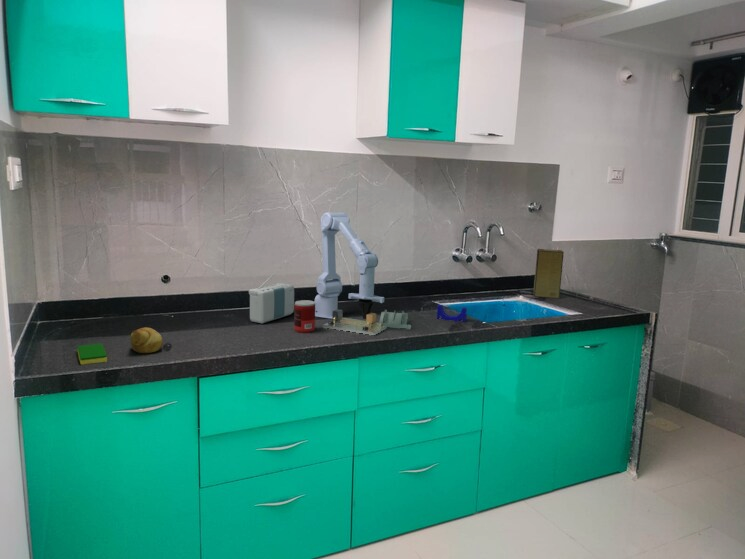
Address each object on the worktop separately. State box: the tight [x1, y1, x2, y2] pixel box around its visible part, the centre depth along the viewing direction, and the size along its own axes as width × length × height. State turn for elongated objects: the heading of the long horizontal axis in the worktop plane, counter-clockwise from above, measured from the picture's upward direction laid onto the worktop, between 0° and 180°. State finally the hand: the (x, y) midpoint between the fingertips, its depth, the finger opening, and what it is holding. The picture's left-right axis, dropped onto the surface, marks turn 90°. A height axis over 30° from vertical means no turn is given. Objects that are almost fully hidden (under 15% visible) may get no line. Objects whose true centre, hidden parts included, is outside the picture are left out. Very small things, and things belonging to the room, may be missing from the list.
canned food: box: [293, 299, 316, 334], centre depth 211 cm, size 8×8×11 cm
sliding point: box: [365, 312, 377, 327], centre depth 216 cm, size 2×5×4 cm, turn 156°
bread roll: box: [130, 326, 164, 354], centre depth 181 cm, size 13×10×8 cm
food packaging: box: [532, 248, 564, 300], centre depth 297 cm, size 13×9×25 cm
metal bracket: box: [378, 309, 412, 330], centre depth 226 cm, size 14×6×15 cm
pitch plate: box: [322, 308, 388, 336], centre depth 217 cm, size 22×12×6 cm, turn 66°
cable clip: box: [436, 304, 468, 323], centre depth 238 cm, size 12×4×6 cm, turn 71°
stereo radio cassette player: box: [248, 267, 295, 325], centre depth 226 cm, size 21×8×20 cm, turn 152°
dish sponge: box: [76, 343, 108, 366], centre depth 172 cm, size 7×14×2 cm, turn 31°
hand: (365, 318), depth 218 cm, fingers closed
